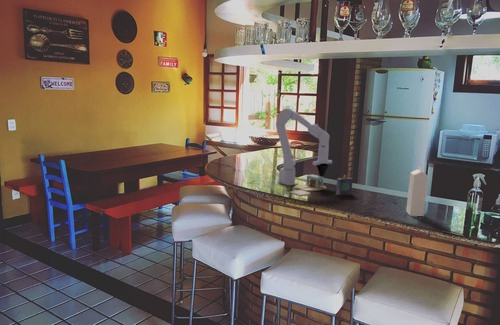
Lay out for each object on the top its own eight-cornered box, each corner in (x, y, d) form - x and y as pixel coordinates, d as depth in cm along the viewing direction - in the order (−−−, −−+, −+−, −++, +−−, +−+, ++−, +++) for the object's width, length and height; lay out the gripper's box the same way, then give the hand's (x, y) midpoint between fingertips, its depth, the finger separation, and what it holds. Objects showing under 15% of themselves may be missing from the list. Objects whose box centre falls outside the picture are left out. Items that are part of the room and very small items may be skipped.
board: (293, 188, 221) (293, 186, 221) (313, 185, 231) (313, 183, 231) (306, 192, 213) (306, 190, 213) (326, 188, 224) (326, 186, 224)
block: (309, 187, 225) (309, 179, 224) (314, 186, 228) (314, 178, 227) (314, 189, 222) (315, 180, 221) (319, 188, 224) (320, 179, 224)
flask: (337, 195, 209) (338, 175, 207) (334, 194, 211) (335, 174, 210) (352, 195, 212) (354, 175, 210) (349, 193, 214) (350, 174, 213)
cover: (306, 184, 226) (306, 175, 225) (312, 183, 229) (312, 174, 228) (316, 187, 220) (317, 177, 219) (322, 186, 223) (323, 176, 222)
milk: (409, 216, 177) (414, 168, 173) (405, 212, 183) (410, 165, 179) (423, 217, 176) (429, 168, 172) (419, 213, 182) (424, 166, 178)
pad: (289, 192, 211) (289, 191, 211) (300, 190, 216) (300, 189, 216) (300, 195, 205) (300, 194, 205) (310, 194, 210) (310, 192, 210)
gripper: (320, 155, 217) (318, 179, 220) (336, 153, 226) (335, 176, 229) (310, 153, 223) (309, 176, 225) (327, 151, 232) (325, 174, 234)
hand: (321, 176), depth 227 cm, fingers closed
